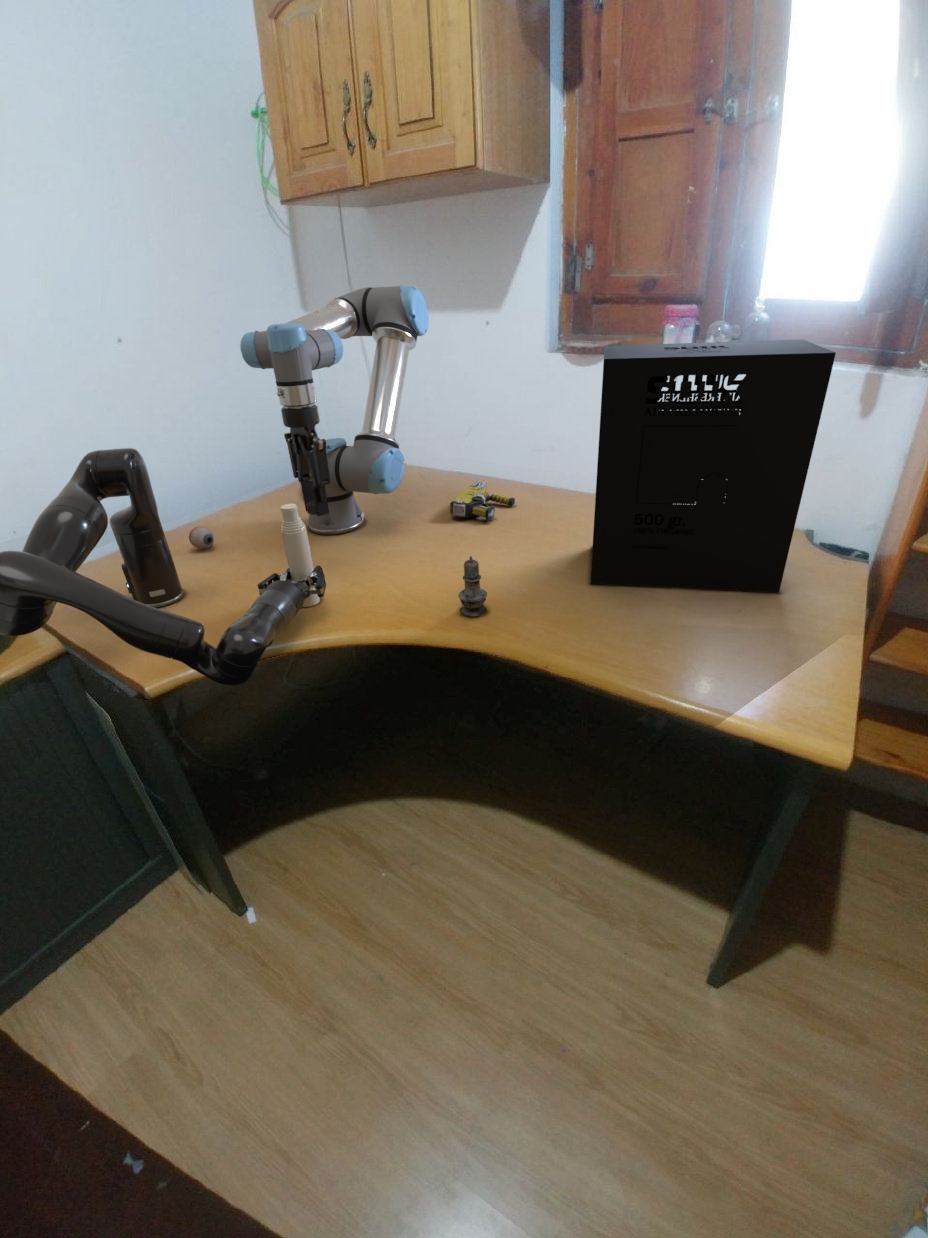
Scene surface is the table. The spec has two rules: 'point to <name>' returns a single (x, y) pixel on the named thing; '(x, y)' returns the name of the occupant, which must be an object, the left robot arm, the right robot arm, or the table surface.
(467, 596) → the dark grey tall piece
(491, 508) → the toy gun
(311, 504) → the cap
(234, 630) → the left robot arm
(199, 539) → the eyeball
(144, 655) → the table surface
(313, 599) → the bottle
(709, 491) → the cardboard box
